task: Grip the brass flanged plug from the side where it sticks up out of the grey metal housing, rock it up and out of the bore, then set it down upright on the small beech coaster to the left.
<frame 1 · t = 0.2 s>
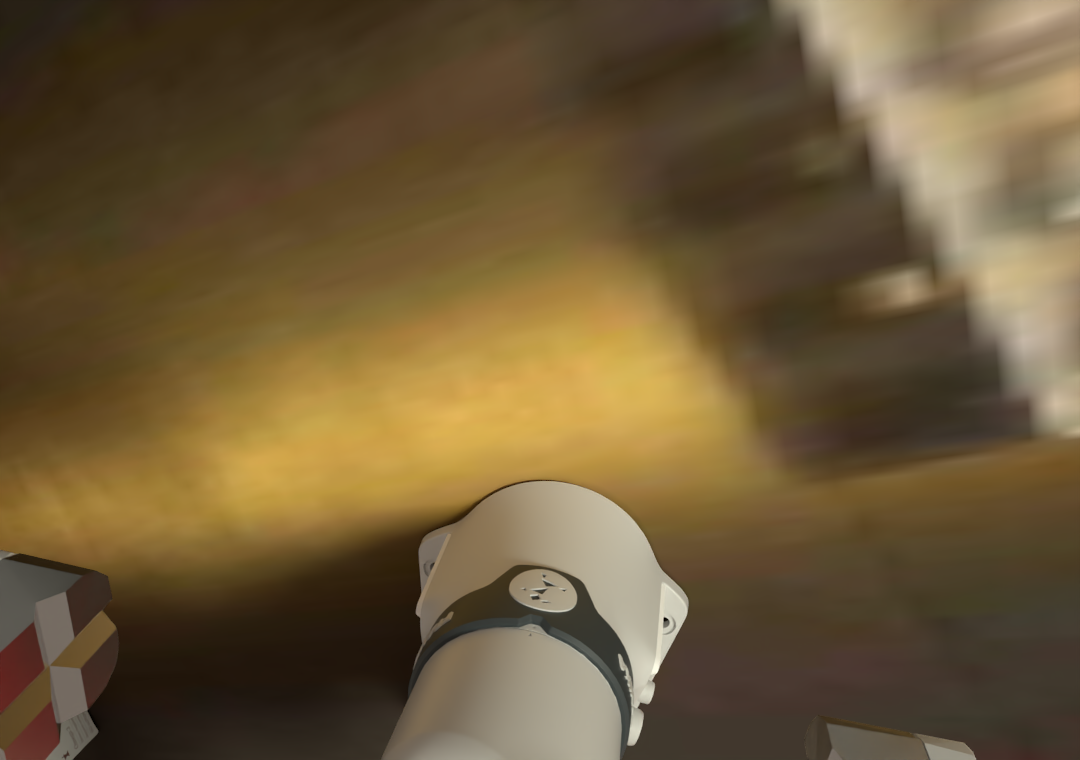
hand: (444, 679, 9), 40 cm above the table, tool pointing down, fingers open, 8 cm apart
supplement box: (50, 698, 65), on the table
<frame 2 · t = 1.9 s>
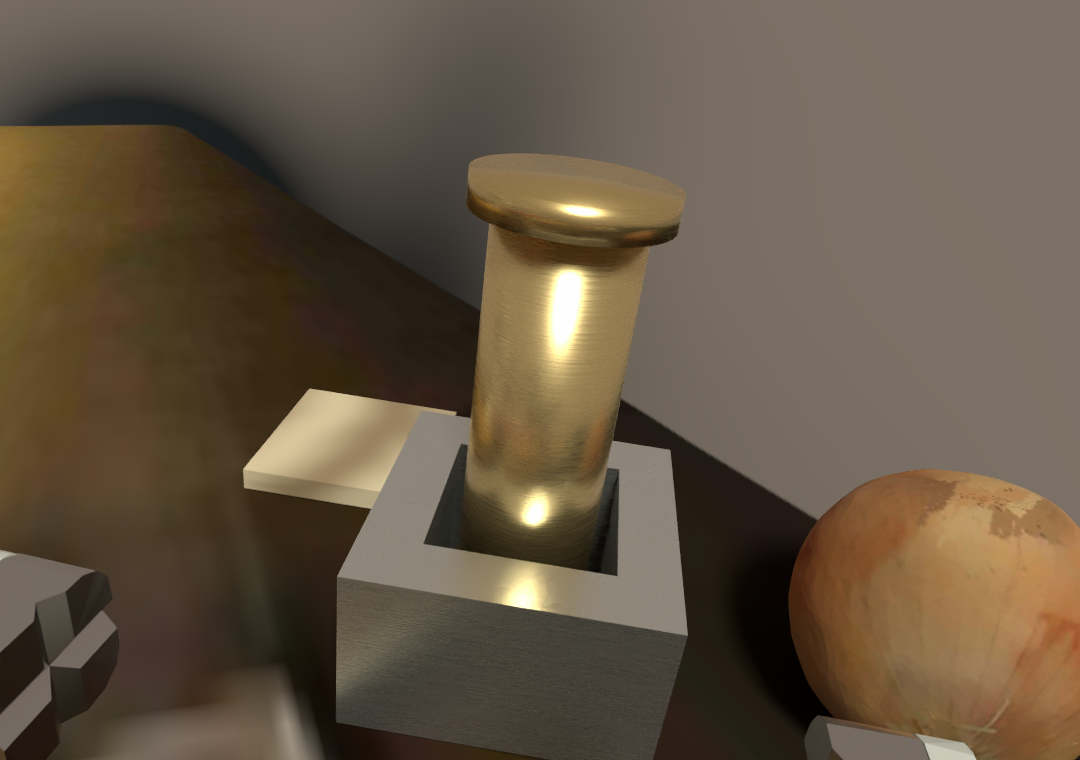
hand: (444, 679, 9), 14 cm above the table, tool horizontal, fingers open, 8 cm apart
onion: (894, 724, 28), on the table
coaster: (359, 455, 38), on the table
cover plug: (539, 440, 25), in the housing
housing: (511, 633, 29), on the table
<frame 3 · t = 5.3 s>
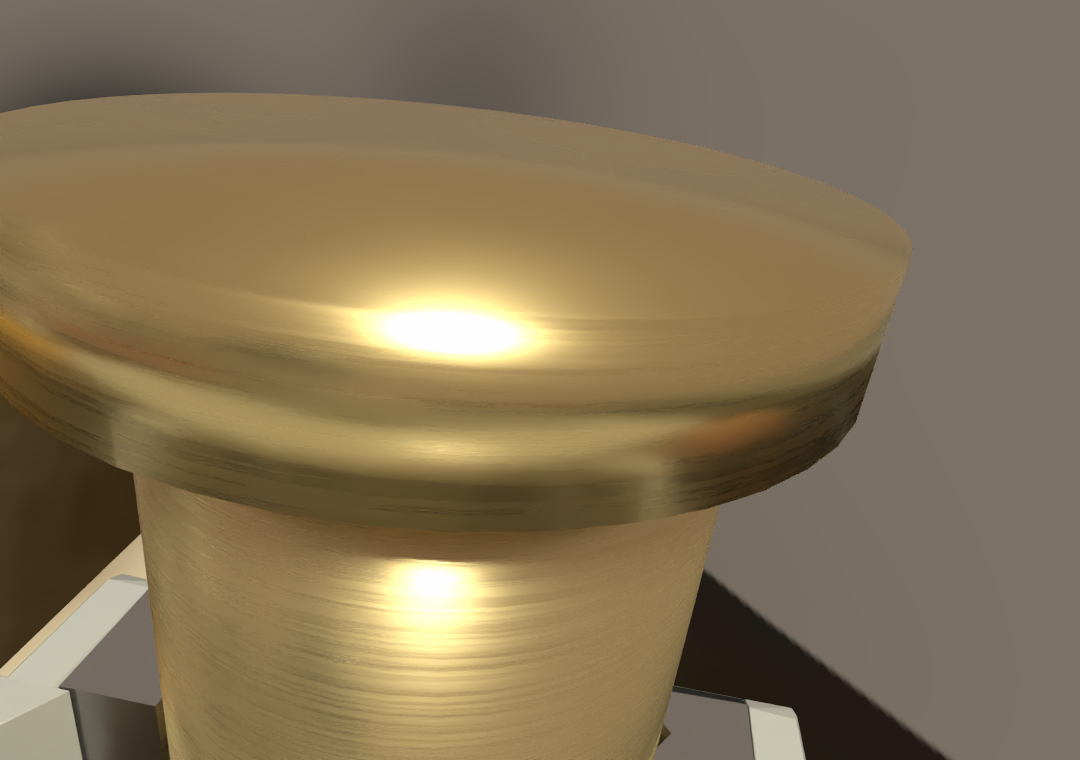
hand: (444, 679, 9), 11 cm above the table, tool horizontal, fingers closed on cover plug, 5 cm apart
coaster: (200, 657, 23), on the table
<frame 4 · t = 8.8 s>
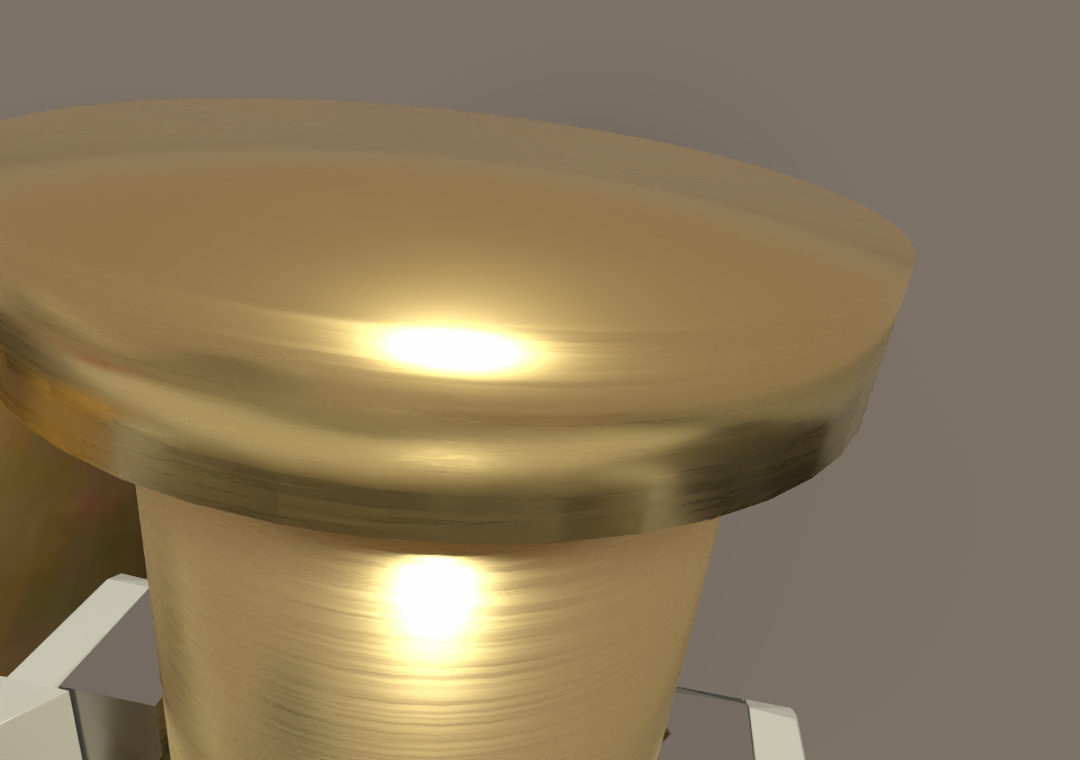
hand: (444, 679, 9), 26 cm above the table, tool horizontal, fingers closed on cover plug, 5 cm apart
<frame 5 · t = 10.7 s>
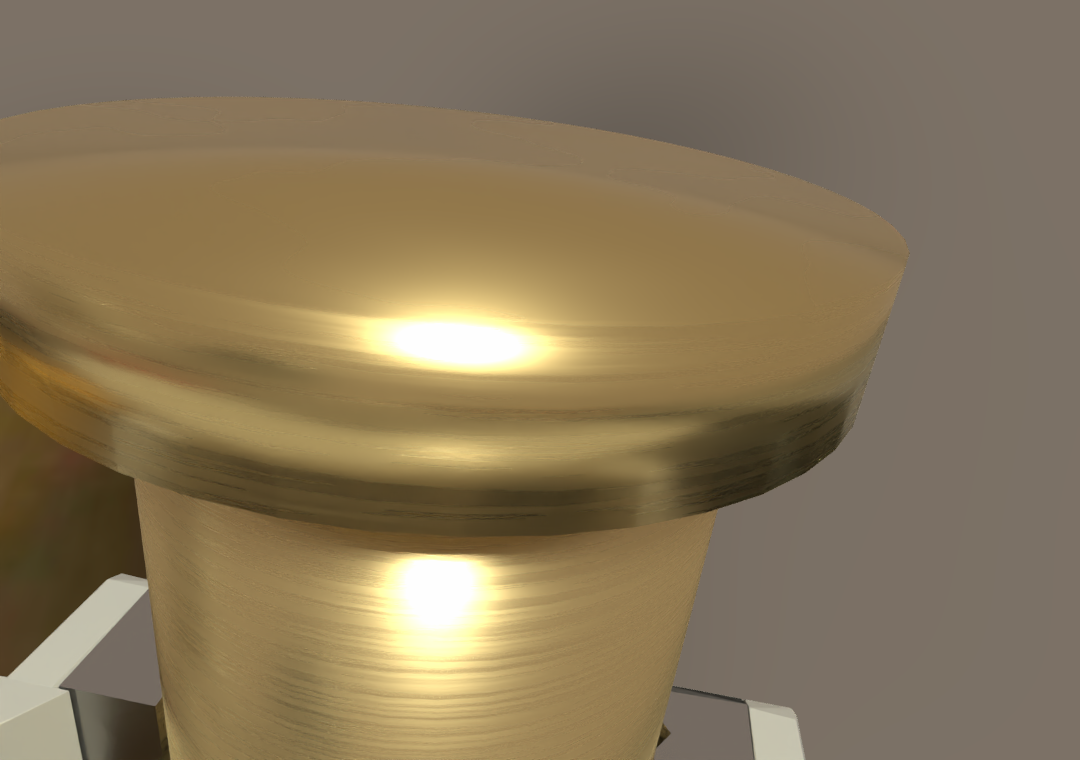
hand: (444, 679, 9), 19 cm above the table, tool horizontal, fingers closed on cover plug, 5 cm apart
when the fingers open (13 cm above the table, at t = 12.3 s): cover plug stays where it is, resting on coaster.
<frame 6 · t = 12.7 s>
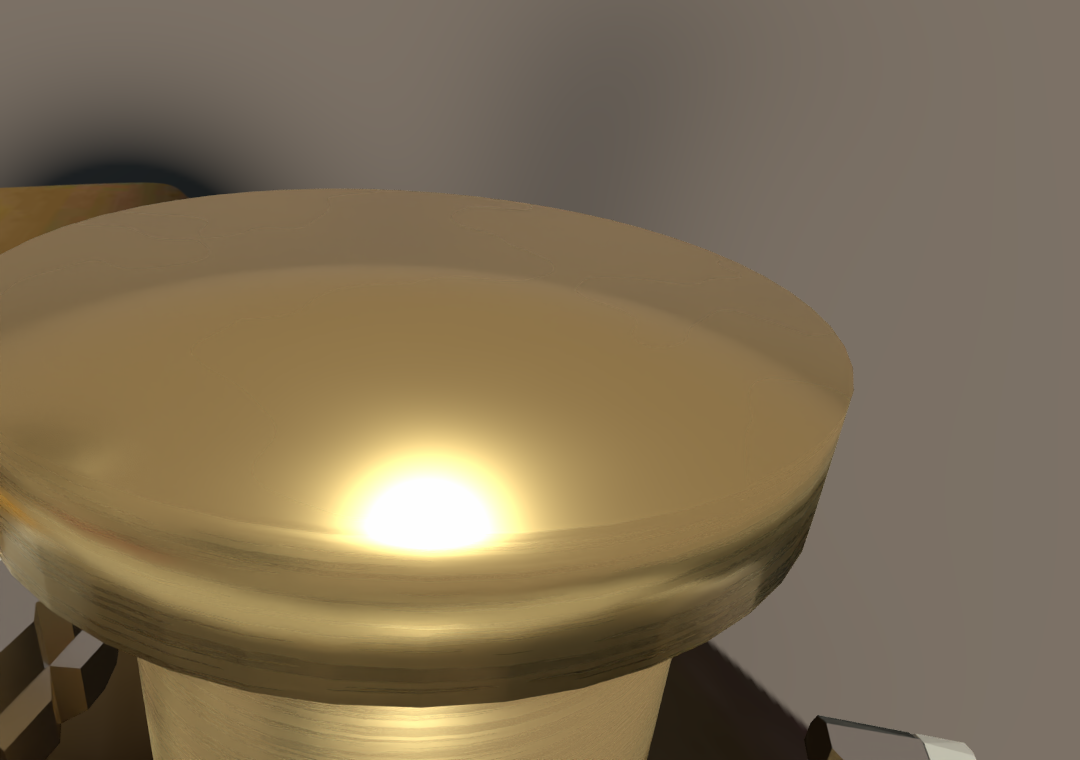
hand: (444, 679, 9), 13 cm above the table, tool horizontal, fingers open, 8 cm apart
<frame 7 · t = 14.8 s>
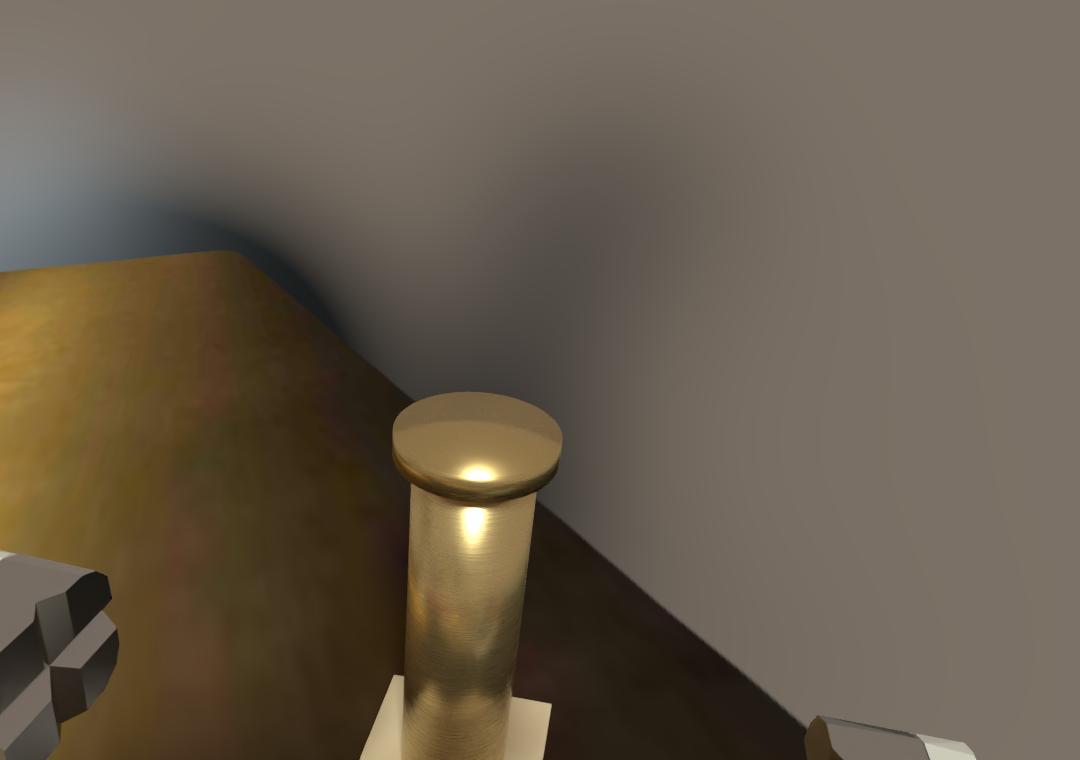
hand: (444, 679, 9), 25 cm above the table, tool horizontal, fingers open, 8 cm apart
cover plug: (464, 613, 31), on the coaster, point 10 cm above the table
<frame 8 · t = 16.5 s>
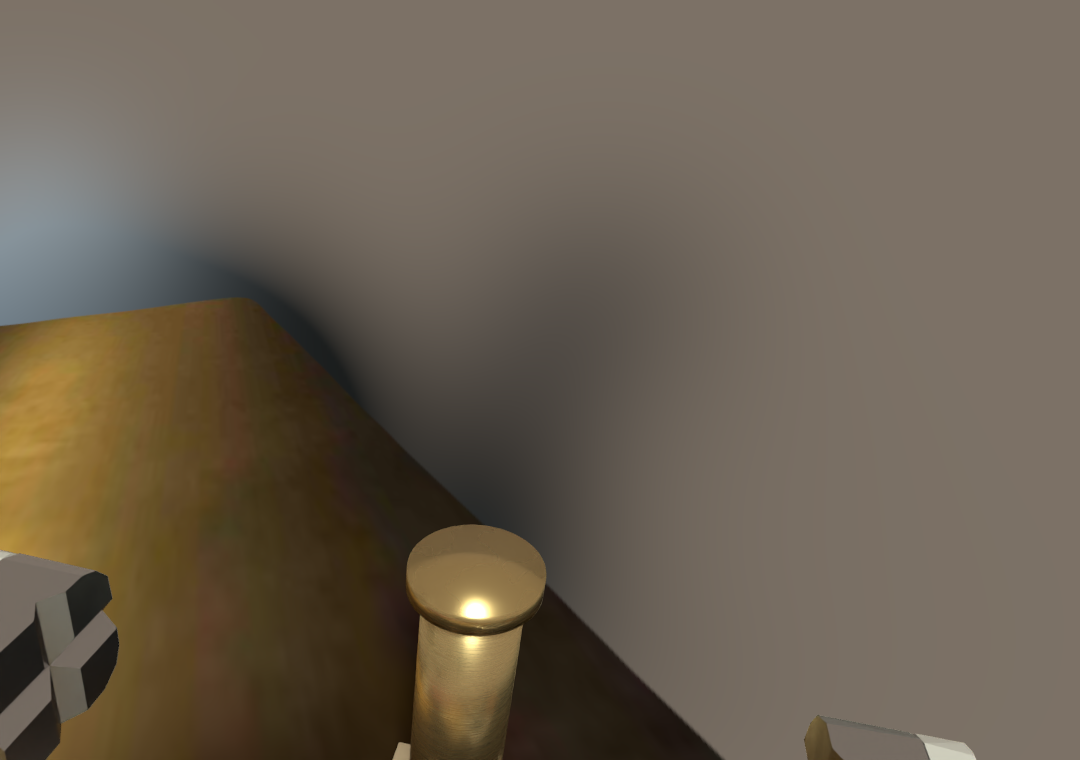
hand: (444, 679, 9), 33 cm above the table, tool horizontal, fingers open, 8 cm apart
cover plug: (461, 706, 37), on the coaster, point 10 cm above the table
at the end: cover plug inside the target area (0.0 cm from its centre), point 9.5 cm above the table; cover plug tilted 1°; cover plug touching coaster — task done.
